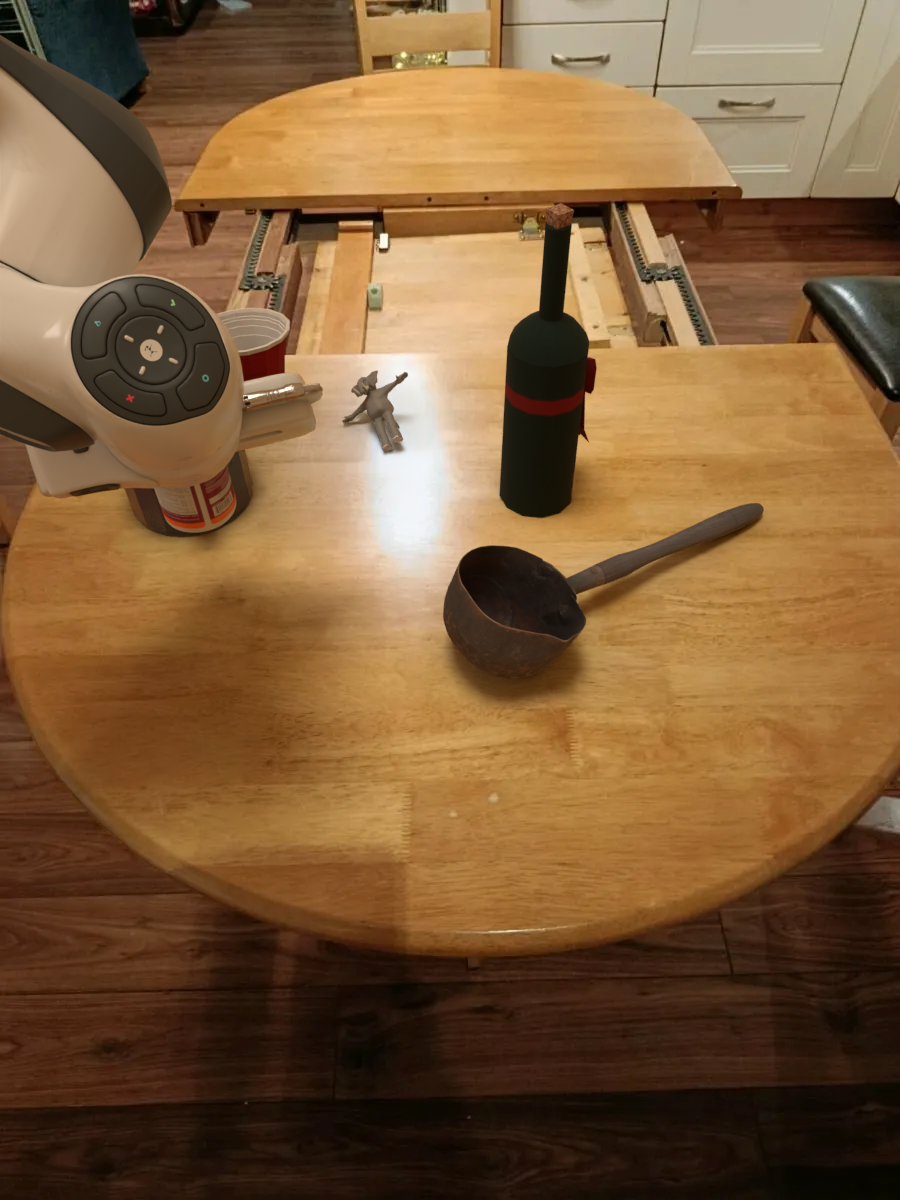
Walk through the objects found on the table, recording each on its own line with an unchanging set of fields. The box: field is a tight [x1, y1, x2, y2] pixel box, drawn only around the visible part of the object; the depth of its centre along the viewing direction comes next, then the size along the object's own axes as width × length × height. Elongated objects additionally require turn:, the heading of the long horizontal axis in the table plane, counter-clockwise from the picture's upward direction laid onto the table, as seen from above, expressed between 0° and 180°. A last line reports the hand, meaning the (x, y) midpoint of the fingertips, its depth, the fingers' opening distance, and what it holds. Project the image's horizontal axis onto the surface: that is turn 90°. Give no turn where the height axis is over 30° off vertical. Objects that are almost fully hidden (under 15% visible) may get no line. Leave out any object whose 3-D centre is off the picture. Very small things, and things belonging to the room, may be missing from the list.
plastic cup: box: [216, 307, 291, 381], centre depth 96 cm, size 11×11×12 cm
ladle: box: [442, 502, 765, 679], centre depth 80 cm, size 12×38×10 cm, turn 124°
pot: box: [123, 450, 254, 538], centre depth 88 cm, size 13×18×8 cm
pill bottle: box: [154, 465, 236, 533], centre depth 68 cm, size 6×6×11 cm
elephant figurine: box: [341, 370, 409, 452], centre depth 97 cm, size 10×6×9 cm
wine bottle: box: [498, 203, 598, 519], centre depth 80 cm, size 8×10×30 cm
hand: (182, 451), depth 68 cm, fingers closed on pill bottle, 6 cm apart
